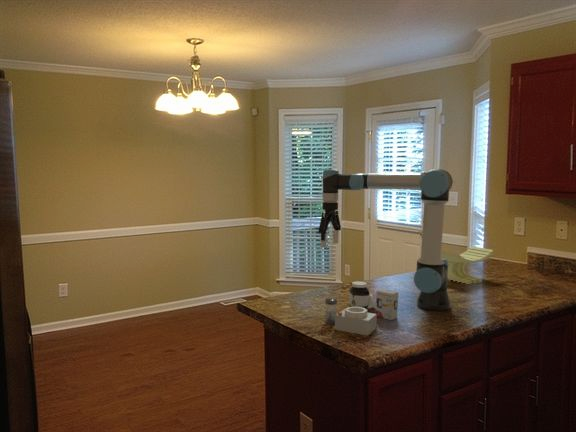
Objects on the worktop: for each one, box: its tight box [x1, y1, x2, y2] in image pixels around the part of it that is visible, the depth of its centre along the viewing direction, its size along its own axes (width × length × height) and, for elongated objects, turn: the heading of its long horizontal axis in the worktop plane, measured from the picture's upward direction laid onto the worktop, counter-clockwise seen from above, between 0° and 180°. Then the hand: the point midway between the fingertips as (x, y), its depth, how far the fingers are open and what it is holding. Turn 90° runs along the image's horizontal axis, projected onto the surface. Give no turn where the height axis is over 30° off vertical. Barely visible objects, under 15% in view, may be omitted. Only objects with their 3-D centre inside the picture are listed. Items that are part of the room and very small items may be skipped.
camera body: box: [334, 306, 378, 336], centre depth 199 cm, size 14×10×8 cm
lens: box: [325, 297, 338, 325], centre depth 206 cm, size 5×5×10 cm
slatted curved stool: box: [441, 246, 494, 285], centre depth 283 cm, size 30×16×18 cm, turn 122°
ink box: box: [374, 288, 399, 321], centre depth 214 cm, size 9×5×12 cm, turn 50°
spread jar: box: [348, 280, 376, 310], centre depth 229 cm, size 12×11×12 cm
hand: (329, 245), depth 238 cm, fingers open, 13 cm apart
